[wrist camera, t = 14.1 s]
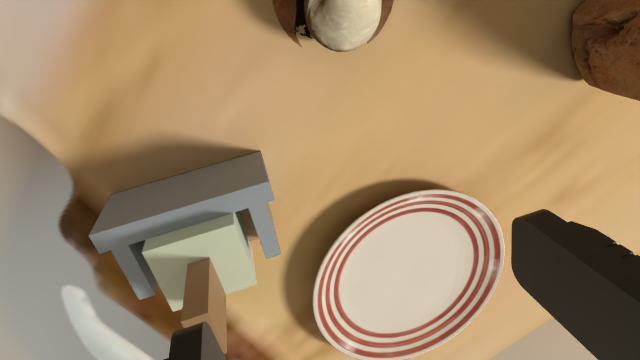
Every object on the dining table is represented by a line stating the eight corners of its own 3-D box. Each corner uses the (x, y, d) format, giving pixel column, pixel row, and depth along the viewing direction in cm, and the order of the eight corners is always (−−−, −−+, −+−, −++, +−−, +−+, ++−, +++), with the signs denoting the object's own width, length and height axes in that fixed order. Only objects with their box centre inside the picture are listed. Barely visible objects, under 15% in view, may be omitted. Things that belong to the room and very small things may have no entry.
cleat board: (110, 194, 41) (88, 235, 34) (260, 150, 43) (268, 181, 36) (143, 254, 45) (128, 303, 37) (279, 212, 46) (290, 250, 39)
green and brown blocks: (152, 217, 39) (124, 310, 27) (232, 193, 40) (237, 274, 28) (178, 271, 42) (163, 375, 30) (252, 248, 43) (264, 341, 31)
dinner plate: (458, 140, 48) (474, 149, 45) (513, 281, 61) (528, 295, 58) (267, 256, 49) (270, 273, 46) (361, 372, 62) (368, 391, 59)
